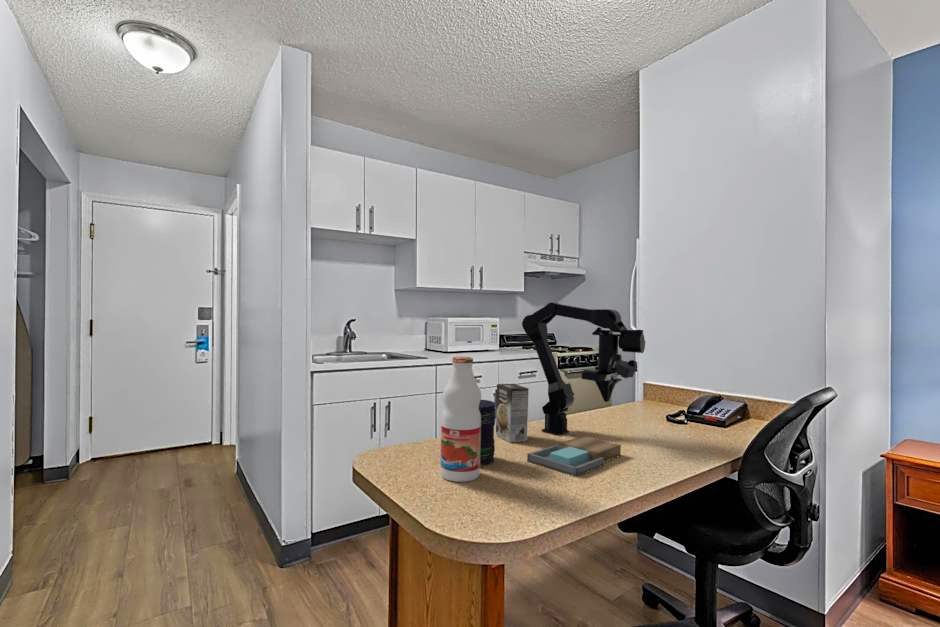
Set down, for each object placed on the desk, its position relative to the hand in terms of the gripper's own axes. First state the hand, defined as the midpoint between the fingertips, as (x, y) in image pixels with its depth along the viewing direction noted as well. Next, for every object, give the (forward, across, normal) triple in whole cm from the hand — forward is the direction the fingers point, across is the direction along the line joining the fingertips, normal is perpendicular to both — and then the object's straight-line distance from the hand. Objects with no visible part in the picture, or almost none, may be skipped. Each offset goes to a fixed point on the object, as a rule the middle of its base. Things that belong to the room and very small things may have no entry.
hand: (606, 401), depth 148 cm
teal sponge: (+11, -26, -6) cm, 29 cm away
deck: (+12, -16, -6) cm, 21 cm away
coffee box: (+12, -22, +19) cm, 31 cm away
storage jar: (+12, -44, +10) cm, 47 cm away
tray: (+12, -28, -6) cm, 31 cm away
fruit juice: (+12, -55, +3) cm, 56 cm away
